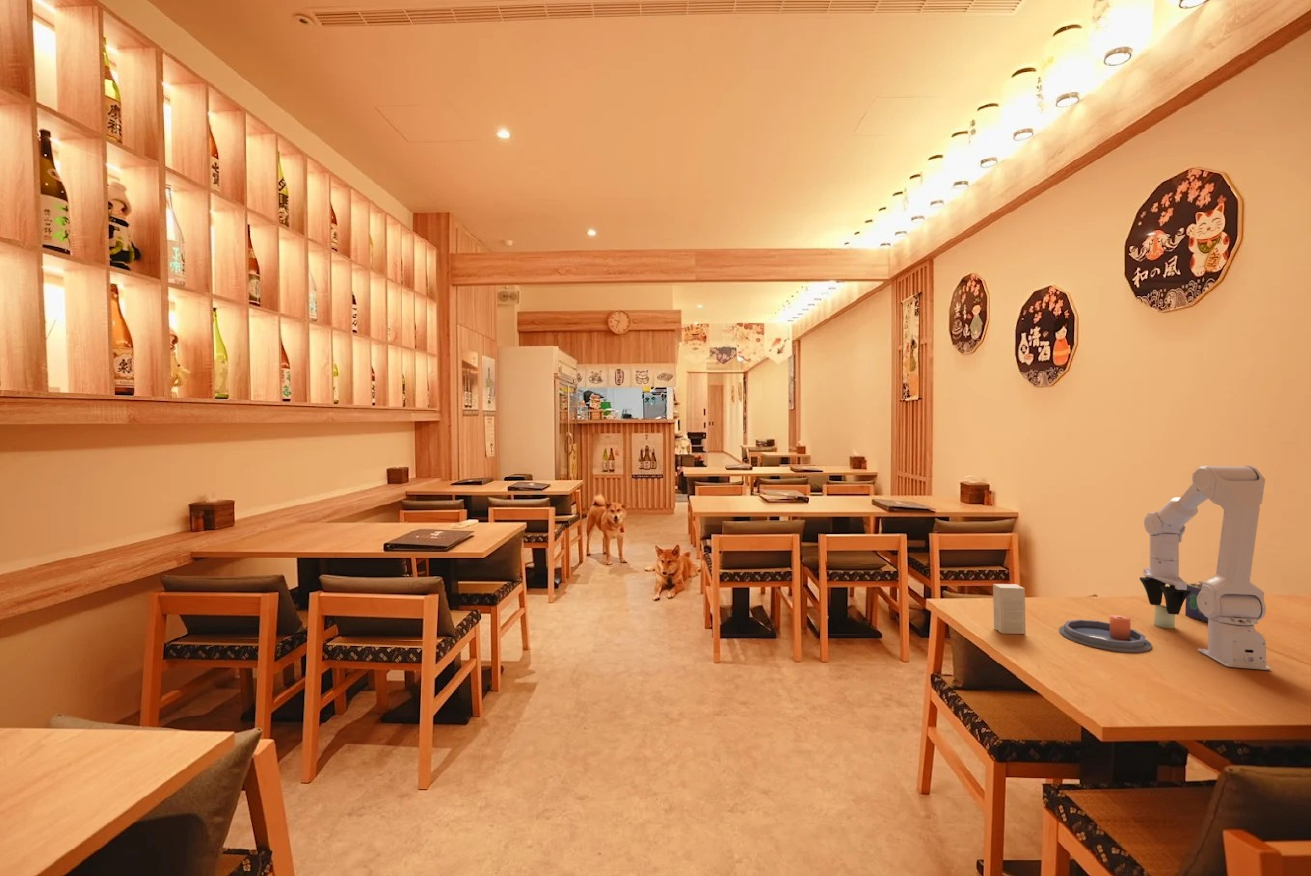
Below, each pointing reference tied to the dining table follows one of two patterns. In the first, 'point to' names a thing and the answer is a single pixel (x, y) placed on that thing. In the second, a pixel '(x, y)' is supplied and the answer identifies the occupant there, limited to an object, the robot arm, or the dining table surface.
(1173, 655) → the dining table surface
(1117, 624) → the vermilion bead
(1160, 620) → the sage bead
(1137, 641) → the round tray
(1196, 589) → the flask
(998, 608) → the skincare box
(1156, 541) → the robot arm
